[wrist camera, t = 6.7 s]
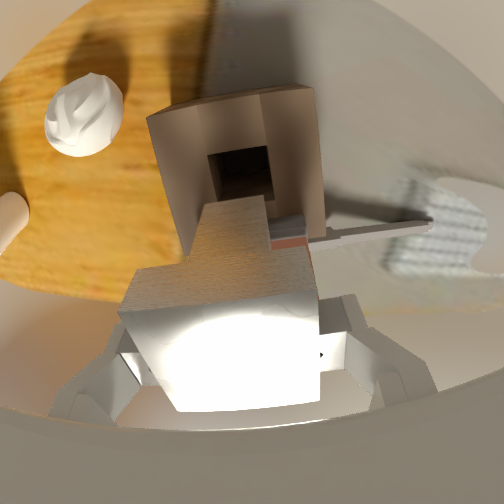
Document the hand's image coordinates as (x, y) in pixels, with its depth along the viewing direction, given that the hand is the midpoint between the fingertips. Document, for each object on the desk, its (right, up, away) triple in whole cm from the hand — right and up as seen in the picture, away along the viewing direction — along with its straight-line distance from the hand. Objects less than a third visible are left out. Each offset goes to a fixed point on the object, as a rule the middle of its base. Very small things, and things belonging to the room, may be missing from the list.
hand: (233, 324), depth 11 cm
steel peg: (0, +4, +6) cm, 7 cm away
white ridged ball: (-14, +17, +17) cm, 28 cm away
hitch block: (0, +12, +19) cm, 23 cm away
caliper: (+12, +6, +24) cm, 28 cm away
